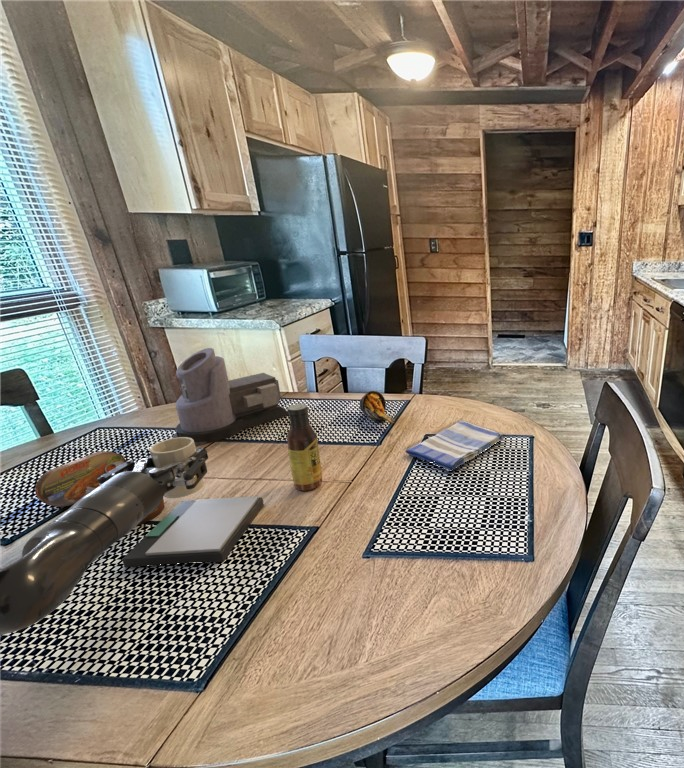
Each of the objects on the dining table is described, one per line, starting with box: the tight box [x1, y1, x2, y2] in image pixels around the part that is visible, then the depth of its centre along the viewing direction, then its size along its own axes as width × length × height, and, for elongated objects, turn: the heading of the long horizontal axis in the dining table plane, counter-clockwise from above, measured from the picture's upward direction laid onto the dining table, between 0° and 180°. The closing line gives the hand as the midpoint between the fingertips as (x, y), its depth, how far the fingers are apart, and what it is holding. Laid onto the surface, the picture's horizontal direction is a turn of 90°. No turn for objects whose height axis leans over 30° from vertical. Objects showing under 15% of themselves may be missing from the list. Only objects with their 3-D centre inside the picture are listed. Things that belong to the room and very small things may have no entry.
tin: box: [34, 451, 127, 508], centre depth 91 cm, size 15×3×8 cm, turn 161°
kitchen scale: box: [121, 496, 264, 568], centre depth 81 cm, size 16×17×3 cm
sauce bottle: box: [286, 403, 323, 492], centre depth 95 cm, size 7×6×20 cm
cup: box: [149, 437, 205, 499], centre depth 74 cm, size 6×6×9 cm
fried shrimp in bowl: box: [359, 390, 396, 424], centre depth 133 cm, size 9×11×18 cm
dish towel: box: [405, 420, 505, 470], centre depth 118 cm, size 17×24×3 cm
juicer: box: [171, 347, 289, 447], centre depth 123 cm, size 30×16×24 cm, turn 145°
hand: (184, 453), depth 76 cm, fingers closed on cup, 6 cm apart
